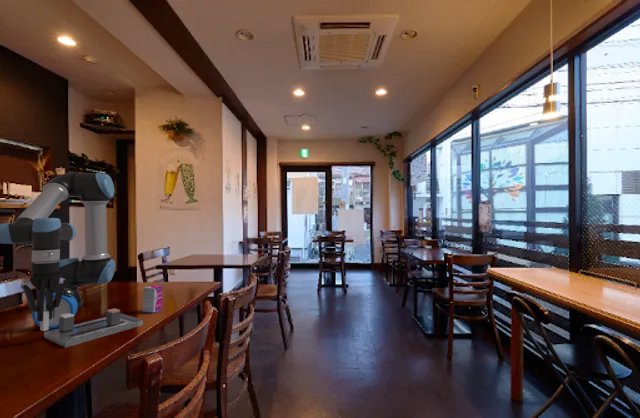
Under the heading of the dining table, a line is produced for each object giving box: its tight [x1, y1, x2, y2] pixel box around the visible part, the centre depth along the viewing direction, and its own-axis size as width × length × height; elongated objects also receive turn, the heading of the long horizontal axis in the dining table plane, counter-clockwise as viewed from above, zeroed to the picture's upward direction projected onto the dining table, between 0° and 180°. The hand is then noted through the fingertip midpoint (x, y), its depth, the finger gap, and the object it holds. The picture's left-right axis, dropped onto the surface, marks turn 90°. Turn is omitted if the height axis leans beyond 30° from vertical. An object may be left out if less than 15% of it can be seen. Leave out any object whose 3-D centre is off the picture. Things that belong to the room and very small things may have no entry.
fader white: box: [58, 313, 75, 331], centre depth 117 cm, size 4×3×5 cm
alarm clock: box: [31, 288, 79, 330], centre depth 127 cm, size 13×6×15 cm, turn 115°
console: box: [43, 312, 144, 349], centre depth 122 cm, size 17×26×2 cm, turn 149°
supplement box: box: [142, 284, 163, 315], centre depth 148 cm, size 6×6×12 cm
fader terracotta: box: [105, 307, 121, 326], centre depth 123 cm, size 4×3×5 cm
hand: (44, 329), depth 112 cm, fingers closed
